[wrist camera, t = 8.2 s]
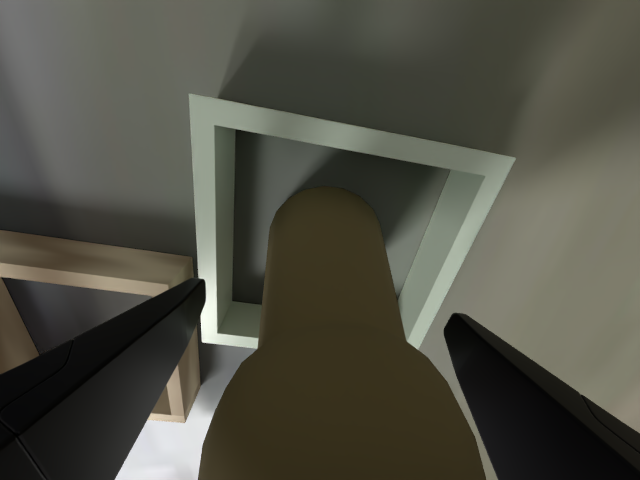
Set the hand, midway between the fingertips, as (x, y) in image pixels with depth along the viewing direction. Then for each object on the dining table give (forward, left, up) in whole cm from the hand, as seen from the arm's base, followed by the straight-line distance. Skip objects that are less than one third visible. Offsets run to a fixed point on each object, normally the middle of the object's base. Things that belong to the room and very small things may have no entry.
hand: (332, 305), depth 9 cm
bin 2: (0, 0, -5) cm, 5 cm away
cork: (0, 0, -5) cm, 5 cm away
